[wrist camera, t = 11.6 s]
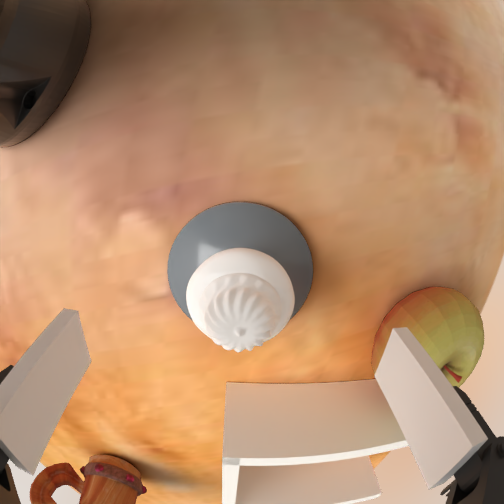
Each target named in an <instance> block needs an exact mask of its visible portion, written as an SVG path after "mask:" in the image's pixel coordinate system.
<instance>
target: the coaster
mask: <svg viewBox="0 0 504 504" xmlns="http://www.w3.org/2000/svg"><path fill="white" fill-rule="evenodd" d="M232 248H249V249H253V250H257V251H260V252H263V253H265V254H267V255H269V256H271V257H272V258H274V259H275V260H276V261H277V262H278V263H279V264H280V265H281V266H282V267H283V268H284V269H285V271H286V272H287V274H288V276H289V278H290V280H291V283H292V286H293V290H294V297H295V303H294V309H293V313H292V315H291V318H292V317H293V316H294V315H295V314H296V313H297V312H298V311H299V309H300V308H301V307H302V305H303V304H304V302H305V300H306V298H307V296H308V293H309V291H310V288H311V284H312V278H313V262H312V257H311V253H310V250H309V247H308V245H307V243H306V241H305V239H304V237H303V236H302V234H301V233H300V231H299V230H298V229H297V227H296V226H295V225H294V224H293V223H292V222H291V221H290V220H289V219H288V218H286V217H285V216H284V215H282V214H281V213H279V212H277V211H276V210H274V209H272V208H269V207H267V206H264V205H261V204H257V203H251V202H229V203H223V204H219V205H216V206H213V207H211V208H208V209H206V210H204V211H203V212H201V213H199V214H198V215H196V216H195V217H194V218H193V219H191V220H190V221H189V222H188V223H187V224H186V225H185V227H184V228H183V229H182V230H181V232H180V233H179V234H178V236H177V237H176V239H175V241H174V243H173V245H172V248H171V251H170V254H169V260H168V281H169V285H170V289H171V291H172V294H173V296H174V298H175V300H176V302H177V304H178V305H179V307H180V308H181V309H182V311H183V312H184V313H185V314H186V315H187V316H188V317H189V318H190V319H191V320H192V318H191V316H190V313H189V310H188V307H187V301H186V291H187V286H188V283H189V280H190V278H191V277H192V275H193V273H194V272H195V271H196V269H197V268H198V267H199V266H200V265H201V264H202V263H203V262H204V261H205V260H207V259H208V258H209V257H211V256H212V255H214V254H216V253H218V252H221V251H223V250H227V249H232ZM291 318H290V319H291ZM290 319H289V320H290ZM192 321H193V320H192Z"/></svg>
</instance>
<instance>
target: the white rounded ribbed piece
mask: <svg viewBox="0 0 504 504" xmlns="http://www.w3.org/2000/svg"><path fill="white" fill-rule="evenodd" d="M186 301H187V307H188V310H189V313H190V316H191V318H192V320H193V321H194V323H195V324H196V326H197V327H198V328H199V329H200V330H201V331H202V332H203V333H204V334H206V335H207V336H208V337H210V338H211V339H212V340H213V341H214V343H216V344H218V345H222V347H223V348H224V349H226V350H232V349H234V350H235V351H236V352H241V351H242V350H244V349H247V350H249V351H251V350H252V349H253V347H254V346H262V345H263V342H265V341H267V340H269V339H271V338H273V337H274V336H276V335H277V334H278V333H279V332H280V331H281V330H282V329H283V328H284V327H285V326H286V324H287V323H288V321H289V319H290V318H291V315H292V313H293V309H294V303H295V297H294V290H293V286H292V283H291V280H290V278H289V276H288V274H287V272H286V271H285V269H284V268H283V267H282V266H281V265H280V264H279V263H278V262H277V261H276V260H275V259H274V258H272V257H271V256H269V255H267V254H265V253H263V252H260V251H257V250H253V249H249V248H232V249H227V250H223V251H221V252H218V253H216V254H214V255H212V256H211V257H209V258H208V259H207V260H205V261H204V262H203V263H202V264H201V265H200V266H199V267H198V268H197V269H196V271H195V272H194V273H193V275H192V277H191V278H190V280H189V283H188V286H187V291H186Z"/></svg>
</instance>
